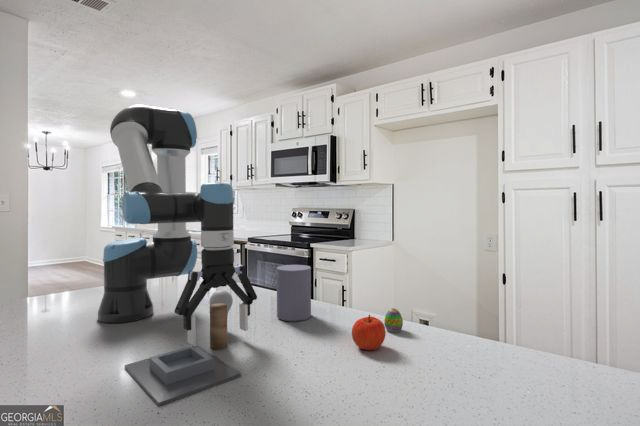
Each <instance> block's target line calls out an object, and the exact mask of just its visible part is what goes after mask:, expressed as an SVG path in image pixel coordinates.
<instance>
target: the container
mask: <svg viewBox="0 0 640 426" xmlns="http://www.w3.org/2000/svg"><path fill="white" fill-rule="evenodd" d="M311 293H312V267H311V266H310V265H306V264H285V265H279V266H277V267H276V318H277V319H279V320H280V321H285V322H301V321H305V320H308V319H310V318H311V316H312V298H311V297H312V294H311Z"/></svg>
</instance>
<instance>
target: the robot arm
mask: <svg viewBox="0 0 640 426" xmlns="http://www.w3.org/2000/svg"><path fill="white" fill-rule="evenodd" d="M109 130H110V131H109V134H110V138H111V142H113V144H114V145H115V146H116V147H117V149H118V151H117V152H118V155H119V158H120V161H121V165H122V170H123V173H124V174H123V175H124V177H125V182H126V185H127V190H128V192H125V193H124V194H123V196H122V201H121V210H122V218H123V220H124V222H125V223H126V224H132V225H133V224H134V225H150V224H151V225H152V224H154V225H155V224H157V231H156V232H155V233H154V234H153V235H152V241H147V238H145V237H137V238H128V239H126V238H125V239H122V240H117V241H113V242H109V243H108V244H106V245H105V246H104V248H103V258H102V262H103V288H104V289H103V291H104V292H103V296H102V298H101V301H100V305H99V307H98V311H97V320H98V321H99V322H100V323H107V324H121V323H129V322H134V321H138V320H143V319H145V318H148V317H150V316H152V315H153V314H154V303H153V301H152V299H151V296H150V293H149V291H148V283H147V282H148V280H150V279H153V280H154V279H158V278H167V277H168V278H169V277H180V276H184V275H187V282H186V283H185V285H184V288H183V289H182V292H181V295H180V297H179V299H178V301H177V304H176V306H175V308H174V313H175V314H177V315H178V316H182V317H183V330H184V331H187V333H186V334H187V336H186V337H187V343H188V344H190V346H193V345H194V346H196V345H197V336H196V335H197V334H196V327H197V326H196V315H194V313H195V311H196V309H197V308H198V307H199V304H201V302H202V301H203V299H204V297H205V296H206V295H207V293H209V292H210V291H211V289H212V288H213V289H218V288H220V287H222V288H223V287H227V286H228V287H229V288H230V289H231V290H232V292H234V294H235V295H236V296H237V297H238V299H240V300H241V301H242V302H239V306H238V307H239V329H240V330H241V331H245V332H247V331H249V319H248V318H249V317H250V315H251V305H252V304H253V303H254V302H253V301H256V300H257V299H258V294H257V293H256V291H255V289H254V287H253V285H252V282H251V280H250V279H249V276H248V275H247V271H246V269H247V268H246V265H244V264H237V265H236V266H234V262H235V249H234V248H233V246H234V243H235V242H234V239H235V237H234V201H235V198H234V192H233V191H234V190H233V186H232V184H230V183H225V182H206V183H202V184H201V185H200V191H199V192H186V189H187V186H186V183H187V182H186V181H187V179H186V176H187V175H186V170H187V169H186V167H187V166H186V158H187V156H188V155H189V154H191V149H193V148H194V147H196V144H197V138H198V133H197V132H198V131H197V125H196V121H195V119H194V118H193V116H192V114H190V113H189V112H188V111H185V110H179V109H175V108H168V107H167V108H164V107H157V106H152V105H151V106H150V105H144V104H134V105H130V106H128V107H126V108H123V109H122V110H120V111H119V112H118V113H117V114H116V115H115V116H114V117H113V119H112V120H111V124H110V128H109ZM148 145H151V151H150V149H149V146H148ZM151 152H153V153H154V154H155V155H156V167H157V168H156V167H155V164H154V161H153V159H152V158H153V157H152V155H151ZM187 223H200V243H201V244H200V246H201V247H202V248H203V249H202V250H201V252H200V254H201V255H200V257H201V261H200V262H201V270H200V271H194V269H195V266H196V265H197V259H198V244H197V241H196V240H194V239H192V235H191V233H190V232H189V231H188V230H187ZM235 274H236V275H237V278H239V281H240V283H241V285H242V288H243V289H244V290H243V289H242V288H241V287H240V286H239V285H238V284H237V281H236V280H235V279H234V278H233V276H234V275H235ZM200 279H202V281H201V282H200V284H199V286H198V289H197V290H196V291H195V288H196V286H197V284H198V283H197V282H199V281H200ZM194 291H195V293H194ZM193 293H194V294H193Z"/></svg>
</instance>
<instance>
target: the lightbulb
mask: <svg viewBox="0 0 640 426" xmlns="http://www.w3.org/2000/svg"><path fill="white" fill-rule="evenodd" d="M233 299H234V298H233V296H232V294H231V293H230V292H229V291H228V290H226V289H218V290H215V291H214V292H213V293H212V294H211V295H210V298H209V303H208V304H209V306H210V305H212V304H217V303H224V304H227V317H228V316H229V312H230V310H231V307H232V306H233Z"/></svg>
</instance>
